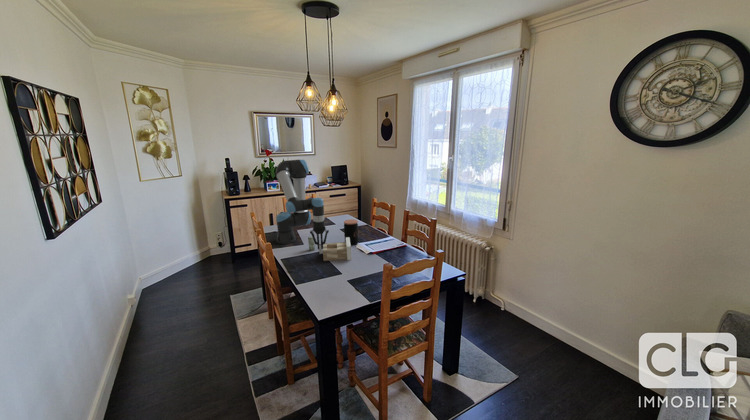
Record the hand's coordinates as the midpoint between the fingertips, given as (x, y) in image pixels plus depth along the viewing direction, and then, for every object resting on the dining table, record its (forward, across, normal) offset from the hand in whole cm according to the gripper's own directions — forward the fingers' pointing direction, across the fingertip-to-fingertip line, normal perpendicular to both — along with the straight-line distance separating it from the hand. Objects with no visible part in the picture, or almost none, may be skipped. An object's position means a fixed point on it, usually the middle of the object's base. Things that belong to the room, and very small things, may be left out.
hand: (320, 253), depth 202 cm
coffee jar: (+3, +23, +22) cm, 32 cm away
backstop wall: (+3, +20, 0) cm, 20 cm away
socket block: (+3, +10, 0) cm, 10 cm away
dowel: (+3, -7, +14) cm, 16 cm away
